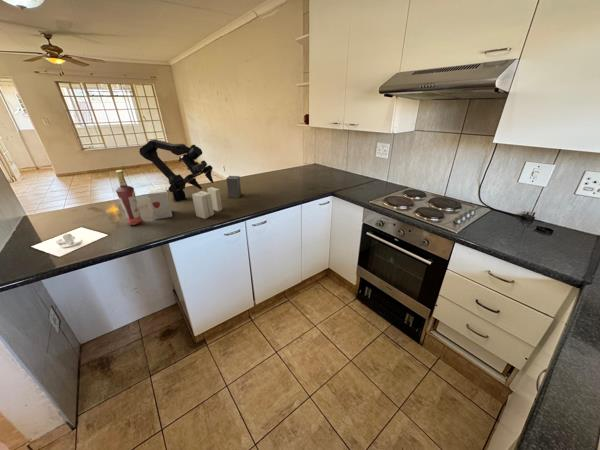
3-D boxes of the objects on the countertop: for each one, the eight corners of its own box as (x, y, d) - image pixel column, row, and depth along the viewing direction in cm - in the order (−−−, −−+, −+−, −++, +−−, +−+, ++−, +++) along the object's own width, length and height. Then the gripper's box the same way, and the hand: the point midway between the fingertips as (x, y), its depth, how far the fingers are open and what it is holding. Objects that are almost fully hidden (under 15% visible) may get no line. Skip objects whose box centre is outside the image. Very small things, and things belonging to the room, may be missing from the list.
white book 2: (210, 216, 138) (206, 194, 132) (200, 213, 141) (197, 192, 135) (213, 214, 141) (210, 193, 135) (205, 212, 143) (201, 190, 137)
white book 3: (218, 211, 144) (215, 190, 138) (210, 209, 147) (206, 188, 142) (222, 210, 147) (219, 189, 141) (214, 207, 150) (211, 186, 144)
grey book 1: (238, 197, 165) (236, 178, 159) (228, 197, 165) (226, 178, 159) (239, 196, 168) (238, 177, 162) (229, 195, 168) (227, 177, 162)
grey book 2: (240, 195, 168) (238, 177, 162) (230, 195, 169) (227, 177, 163) (241, 194, 171) (239, 176, 165) (231, 194, 171) (229, 175, 165)
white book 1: (205, 218, 135) (201, 196, 129) (196, 216, 138) (191, 194, 132) (209, 216, 138) (205, 195, 132) (200, 214, 141) (196, 192, 135)
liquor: (141, 225, 127) (125, 172, 114) (125, 227, 125) (106, 173, 112) (145, 219, 133) (130, 168, 120) (130, 221, 131) (112, 169, 118)
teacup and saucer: (53, 245, 108) (49, 237, 107) (73, 237, 115) (70, 229, 113) (66, 249, 106) (62, 241, 104) (86, 241, 112) (82, 233, 111)
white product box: (154, 220, 133) (147, 193, 126) (154, 213, 140) (147, 188, 133) (172, 216, 137) (166, 191, 130) (172, 211, 144) (166, 186, 137)
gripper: (182, 163, 134) (200, 187, 137) (208, 152, 147) (224, 174, 150) (175, 171, 141) (193, 194, 145) (201, 160, 154) (216, 181, 158)
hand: (207, 186), depth 149 cm, fingers open, 9 cm apart
